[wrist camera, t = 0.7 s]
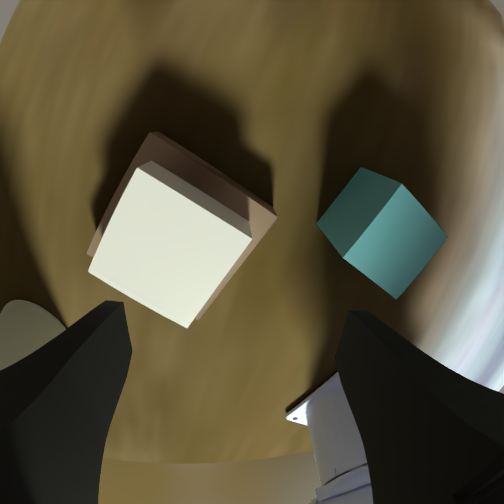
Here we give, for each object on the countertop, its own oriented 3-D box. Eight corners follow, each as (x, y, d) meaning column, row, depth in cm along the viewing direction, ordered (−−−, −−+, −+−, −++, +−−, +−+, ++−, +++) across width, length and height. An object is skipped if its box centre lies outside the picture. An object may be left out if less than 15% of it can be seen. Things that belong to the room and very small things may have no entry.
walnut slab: (271, 205, 18) (277, 217, 16) (201, 298, 20) (198, 320, 18) (160, 131, 16) (149, 132, 14) (101, 238, 18) (86, 253, 16)
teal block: (404, 209, 18) (447, 236, 14) (363, 260, 19) (396, 299, 15) (360, 166, 17) (401, 183, 12) (315, 223, 18) (342, 257, 14)
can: (-3, 283, 18) (-82, 371, 7) (82, 324, 20) (18, 448, 9) (9, 354, 22) (-41, 437, 11) (82, 390, 23) (46, 490, 12)
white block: (249, 221, 16) (252, 238, 13) (192, 302, 18) (187, 328, 15) (151, 160, 14) (136, 167, 12) (104, 251, 16) (88, 271, 14)
